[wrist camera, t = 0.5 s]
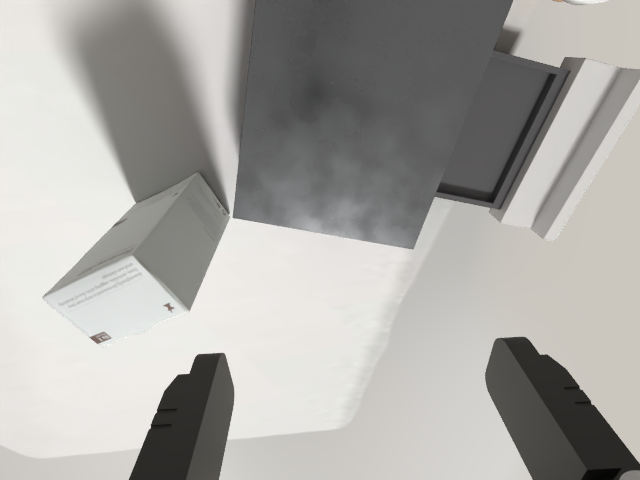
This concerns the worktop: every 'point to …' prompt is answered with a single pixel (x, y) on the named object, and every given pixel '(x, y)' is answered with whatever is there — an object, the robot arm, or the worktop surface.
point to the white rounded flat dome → (583, 1)
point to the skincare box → (144, 264)
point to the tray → (538, 138)
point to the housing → (358, 111)
